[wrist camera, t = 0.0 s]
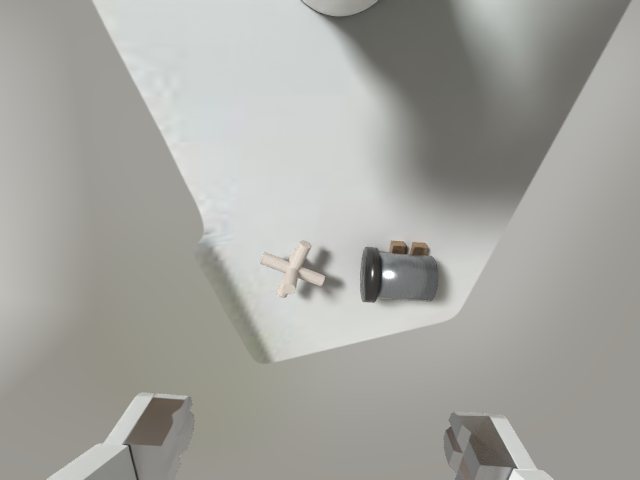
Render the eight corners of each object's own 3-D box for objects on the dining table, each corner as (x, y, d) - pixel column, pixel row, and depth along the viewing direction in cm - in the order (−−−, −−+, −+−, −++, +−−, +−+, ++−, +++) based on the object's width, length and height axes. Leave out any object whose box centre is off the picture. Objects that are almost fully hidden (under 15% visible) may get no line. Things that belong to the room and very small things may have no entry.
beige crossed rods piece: (335, 240, 51) (337, 274, 42) (311, 285, 55) (308, 325, 46) (278, 216, 49) (267, 247, 40) (258, 265, 53) (244, 302, 44)
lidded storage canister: (358, 278, 54) (363, 313, 46) (364, 235, 50) (371, 265, 42) (415, 281, 54) (430, 317, 46) (425, 239, 50) (444, 270, 42)
